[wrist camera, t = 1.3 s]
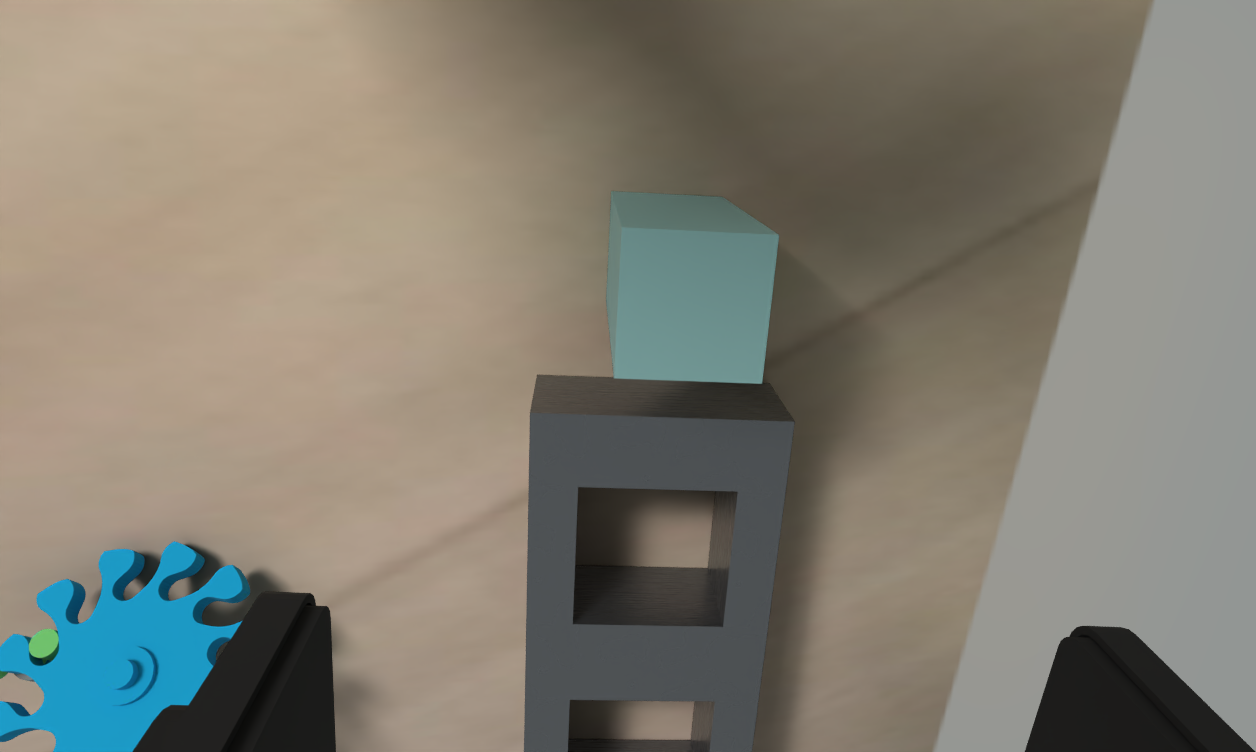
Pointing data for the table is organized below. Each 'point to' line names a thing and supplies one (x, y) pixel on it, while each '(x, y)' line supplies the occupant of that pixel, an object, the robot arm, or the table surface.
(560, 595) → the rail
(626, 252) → the peg
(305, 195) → the table surface
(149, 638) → the gear
